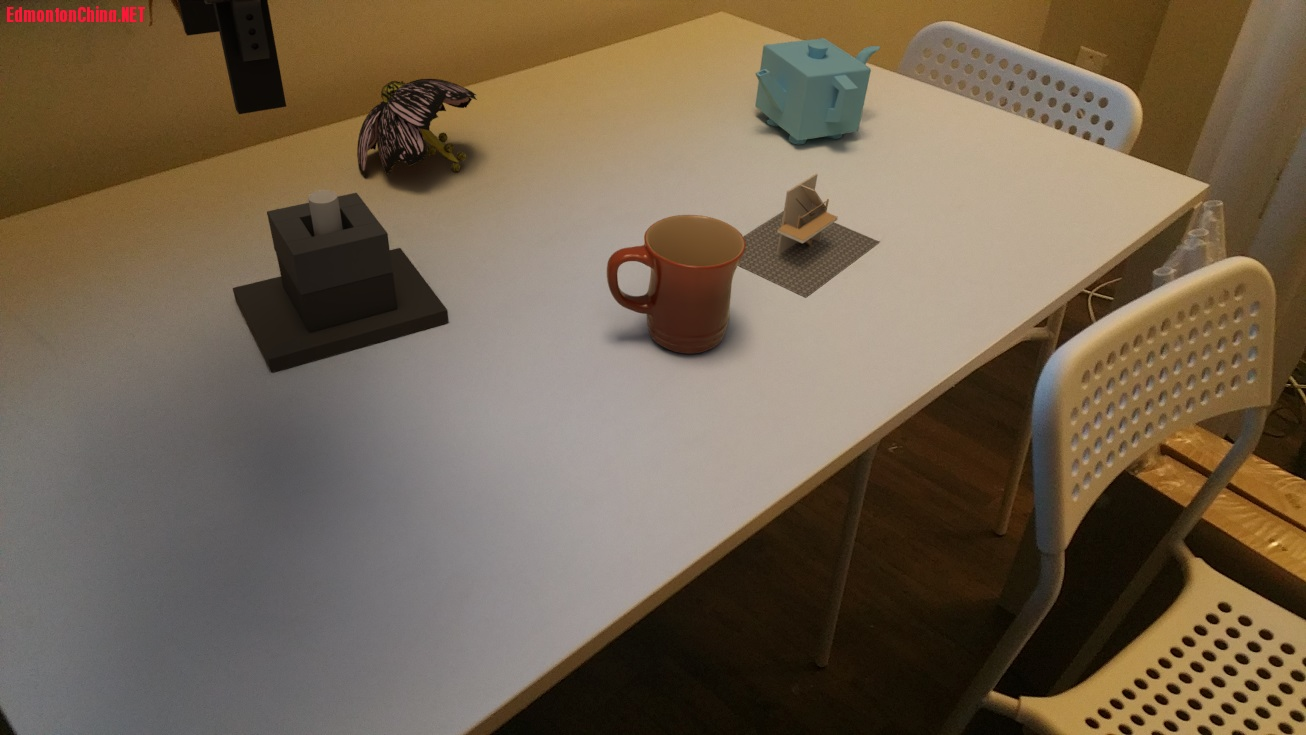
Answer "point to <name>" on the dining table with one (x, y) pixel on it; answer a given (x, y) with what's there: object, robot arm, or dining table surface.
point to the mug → (683, 280)
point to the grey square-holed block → (330, 246)
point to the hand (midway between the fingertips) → (232, 67)
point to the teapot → (813, 88)
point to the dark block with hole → (341, 300)
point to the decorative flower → (410, 123)
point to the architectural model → (803, 243)
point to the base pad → (294, 345)
